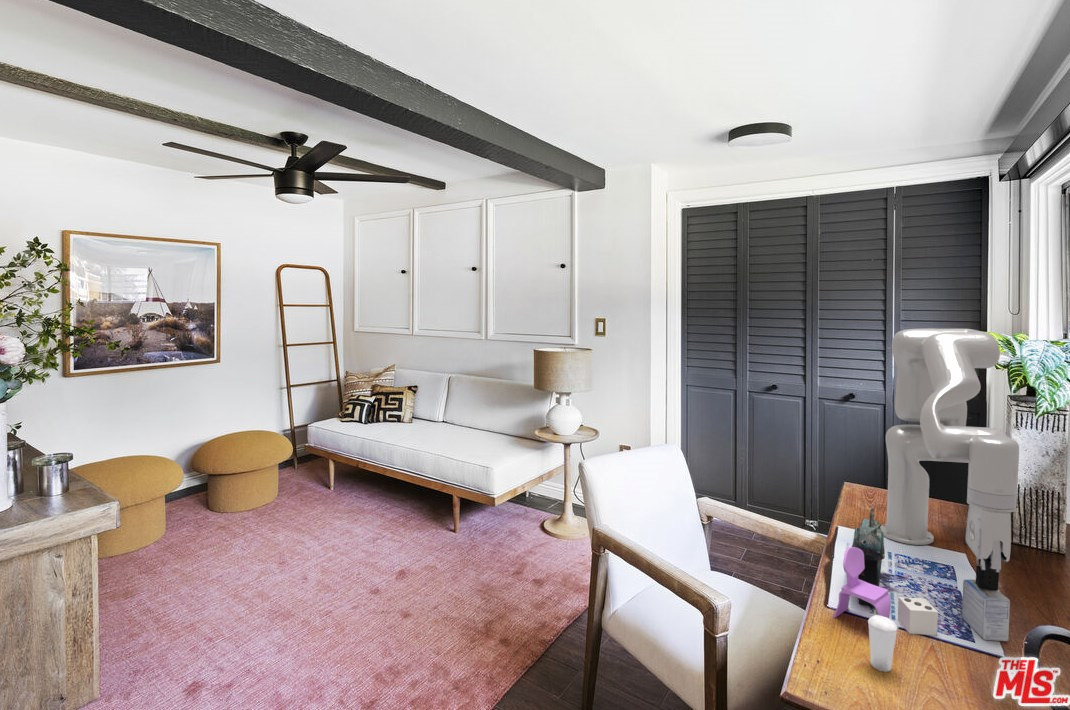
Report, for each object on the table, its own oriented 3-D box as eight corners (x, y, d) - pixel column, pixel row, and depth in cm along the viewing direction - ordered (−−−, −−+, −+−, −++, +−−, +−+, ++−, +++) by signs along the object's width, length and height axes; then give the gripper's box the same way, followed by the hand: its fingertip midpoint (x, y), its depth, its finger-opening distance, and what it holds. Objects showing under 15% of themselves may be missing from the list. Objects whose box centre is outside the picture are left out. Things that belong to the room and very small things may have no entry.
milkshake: (894, 680, 98) (896, 626, 97) (862, 664, 102) (863, 613, 101) (905, 670, 101) (907, 617, 100) (873, 655, 105) (875, 604, 104)
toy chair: (875, 639, 110) (878, 566, 109) (830, 619, 117) (832, 550, 116) (893, 624, 115) (896, 554, 113) (848, 606, 122) (850, 540, 120)
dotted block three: (897, 619, 116) (898, 596, 116) (924, 621, 116) (925, 597, 115) (909, 633, 112) (910, 609, 111) (937, 635, 111) (938, 611, 110)
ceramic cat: (882, 613, 119) (886, 523, 117) (848, 605, 122) (850, 517, 120) (883, 574, 135) (886, 494, 133) (852, 568, 139) (855, 490, 137)
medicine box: (1009, 642, 108) (1011, 600, 107) (982, 640, 109) (985, 598, 108) (985, 619, 116) (987, 579, 115) (960, 617, 116) (962, 578, 116)
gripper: (957, 484, 118) (953, 568, 120) (979, 508, 104) (974, 602, 106) (1002, 489, 115) (997, 574, 116) (1030, 514, 101) (1024, 610, 103)
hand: (986, 587), depth 111 cm, fingers closed
